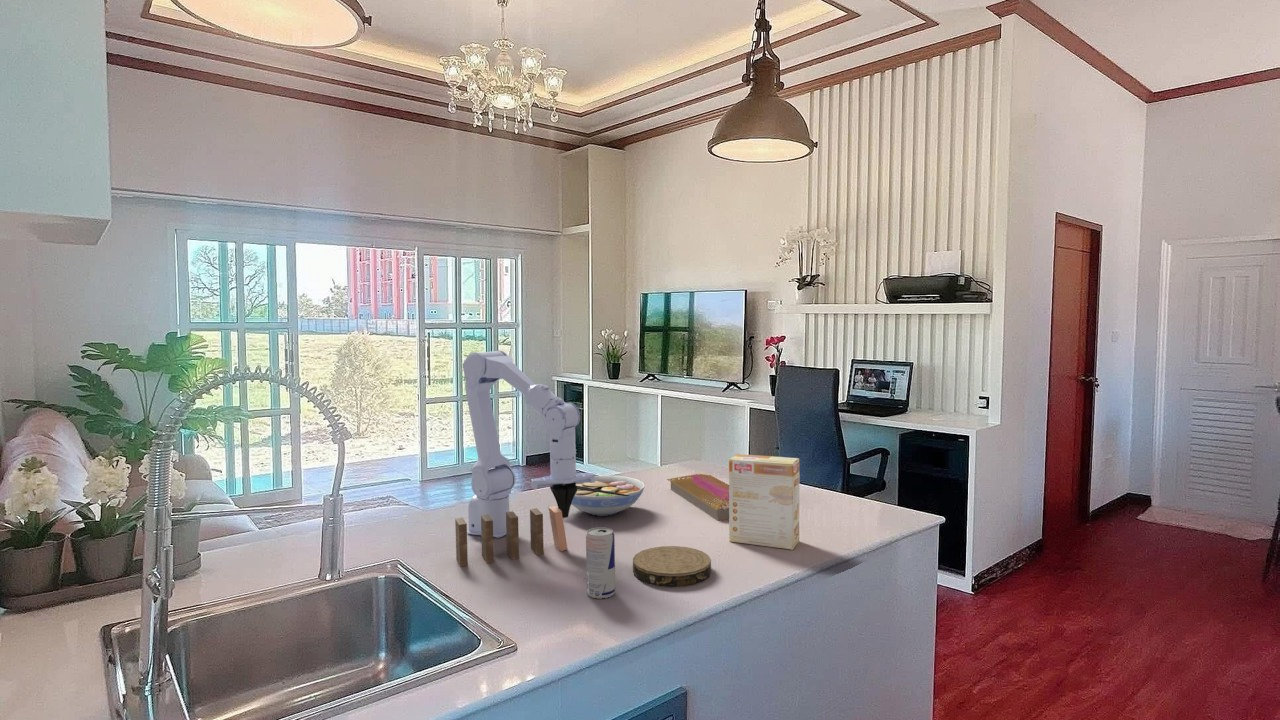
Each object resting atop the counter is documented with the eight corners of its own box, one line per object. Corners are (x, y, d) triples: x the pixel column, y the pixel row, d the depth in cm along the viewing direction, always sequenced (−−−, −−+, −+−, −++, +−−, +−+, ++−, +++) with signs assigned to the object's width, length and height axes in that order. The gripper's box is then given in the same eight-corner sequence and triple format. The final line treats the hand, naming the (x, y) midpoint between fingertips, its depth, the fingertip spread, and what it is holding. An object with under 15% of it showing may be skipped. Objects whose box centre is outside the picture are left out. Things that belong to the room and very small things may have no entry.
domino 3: (511, 558, 149) (510, 518, 149) (506, 551, 154) (505, 512, 153) (519, 557, 150) (518, 517, 149) (513, 550, 155) (512, 511, 154)
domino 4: (536, 555, 152) (535, 514, 151) (530, 548, 156) (529, 509, 156) (543, 554, 152) (542, 513, 152) (537, 547, 157) (536, 508, 156)
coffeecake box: (800, 541, 159) (800, 457, 158) (793, 550, 152) (793, 463, 151) (737, 533, 165) (737, 452, 164) (728, 542, 159) (728, 458, 158)
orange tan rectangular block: (560, 551, 154) (554, 512, 153) (554, 544, 158) (548, 507, 157) (567, 549, 154) (561, 510, 153) (561, 542, 159) (555, 505, 158)
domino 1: (460, 566, 145) (458, 524, 144) (456, 559, 150) (455, 518, 149) (467, 565, 146) (466, 523, 145) (463, 558, 150) (462, 517, 150)
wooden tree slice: (726, 577, 138) (726, 562, 138) (661, 595, 130) (661, 579, 130) (680, 554, 152) (680, 541, 152) (618, 569, 143) (618, 555, 143)
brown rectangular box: (666, 490, 207) (666, 470, 207) (710, 486, 212) (710, 466, 211) (715, 523, 174) (715, 499, 174) (766, 517, 179) (766, 494, 178)
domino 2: (486, 562, 147) (485, 521, 147) (481, 555, 152) (480, 515, 151) (493, 561, 148) (492, 520, 147) (489, 554, 152) (488, 514, 152)
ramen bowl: (665, 508, 187) (664, 478, 186) (617, 531, 167) (617, 498, 167) (590, 496, 200) (590, 468, 199) (538, 516, 181) (538, 485, 180)
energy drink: (619, 589, 132) (618, 528, 131) (609, 601, 127) (608, 537, 126) (593, 586, 134) (592, 525, 133) (582, 597, 129) (581, 534, 128)
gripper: (536, 464, 149) (537, 525, 150) (599, 457, 155) (600, 517, 156) (528, 457, 155) (529, 517, 156) (588, 452, 161) (589, 509, 162)
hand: (564, 516), depth 156 cm, fingers closed
